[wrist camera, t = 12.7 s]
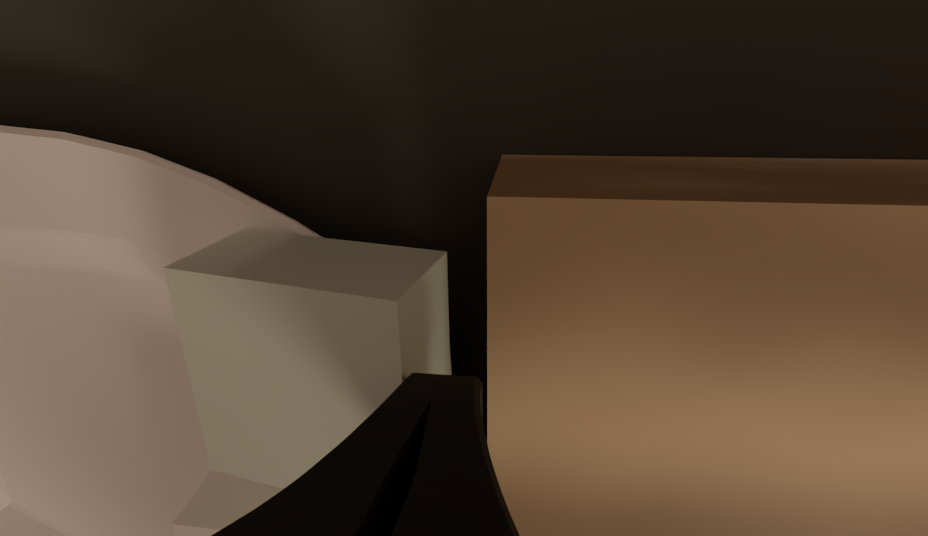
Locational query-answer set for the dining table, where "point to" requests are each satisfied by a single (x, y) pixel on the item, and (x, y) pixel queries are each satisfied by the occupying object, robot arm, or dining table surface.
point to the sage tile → (302, 342)
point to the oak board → (709, 345)
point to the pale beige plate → (101, 332)
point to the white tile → (220, 504)
